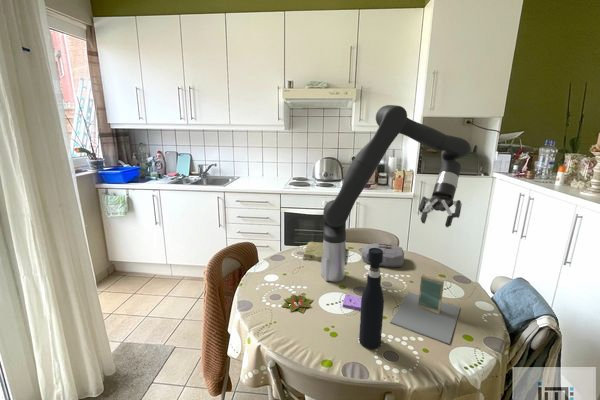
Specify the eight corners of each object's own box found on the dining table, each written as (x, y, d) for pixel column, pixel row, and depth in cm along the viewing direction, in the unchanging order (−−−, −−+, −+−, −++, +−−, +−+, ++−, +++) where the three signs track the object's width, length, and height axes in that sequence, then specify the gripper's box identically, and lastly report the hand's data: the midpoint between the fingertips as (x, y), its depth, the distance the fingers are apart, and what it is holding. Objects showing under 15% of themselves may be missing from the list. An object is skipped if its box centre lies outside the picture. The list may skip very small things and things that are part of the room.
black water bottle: (356, 335, 94) (361, 246, 87) (376, 334, 95) (383, 245, 87) (362, 350, 88) (368, 255, 80) (383, 348, 89) (391, 254, 81)
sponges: (345, 297, 115) (345, 293, 115) (379, 303, 111) (379, 299, 111) (341, 308, 109) (342, 303, 108) (377, 315, 105) (378, 310, 104)
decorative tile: (308, 246, 162) (308, 240, 161) (345, 249, 158) (346, 243, 157) (301, 262, 145) (301, 255, 144) (343, 265, 141) (343, 258, 140)
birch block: (419, 303, 110) (423, 273, 107) (440, 310, 106) (444, 279, 103) (417, 307, 108) (421, 277, 104) (438, 314, 104) (442, 282, 101)
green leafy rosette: (290, 292, 118) (290, 282, 117) (319, 300, 113) (319, 289, 112) (275, 309, 108) (275, 298, 107) (305, 318, 103) (305, 306, 102)
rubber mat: (408, 292, 117) (408, 291, 117) (460, 308, 108) (460, 307, 107) (389, 322, 100) (390, 321, 100) (449, 344, 90) (449, 343, 90)
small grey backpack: (402, 256, 149) (361, 252, 154) (403, 241, 147) (362, 237, 152) (404, 271, 135) (359, 265, 140) (405, 253, 133) (359, 249, 138)
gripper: (424, 180, 118) (412, 217, 114) (464, 182, 109) (453, 223, 104) (429, 189, 123) (418, 225, 119) (467, 192, 114) (457, 231, 109)
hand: (434, 224), depth 112 cm, fingers open, 8 cm apart
